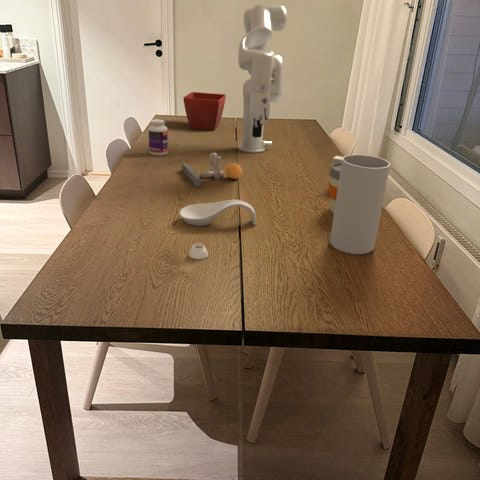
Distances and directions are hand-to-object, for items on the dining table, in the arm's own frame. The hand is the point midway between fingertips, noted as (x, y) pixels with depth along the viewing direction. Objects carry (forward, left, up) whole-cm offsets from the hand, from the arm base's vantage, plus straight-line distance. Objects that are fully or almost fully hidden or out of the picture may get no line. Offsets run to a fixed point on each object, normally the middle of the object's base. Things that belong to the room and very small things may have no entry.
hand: (256, 136), depth 189 cm
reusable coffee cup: (-15, +43, -15) cm, 48 cm away
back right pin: (+16, -2, -15) cm, 23 cm away
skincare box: (-25, +23, -15) cm, 37 cm away
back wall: (+26, 0, -15) cm, 30 cm away
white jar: (+41, +62, -15) cm, 76 cm away
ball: (+10, +4, -12) cm, 16 cm away
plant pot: (-4, -81, -15) cm, 83 cm away
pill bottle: (+31, -35, -15) cm, 49 cm away
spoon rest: (+29, +42, -16) cm, 53 cm away
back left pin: (+16, +3, -15) cm, 23 cm away
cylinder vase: (-3, +67, -15) cm, 69 cm away
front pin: (+13, 0, -14) cm, 19 cm away
